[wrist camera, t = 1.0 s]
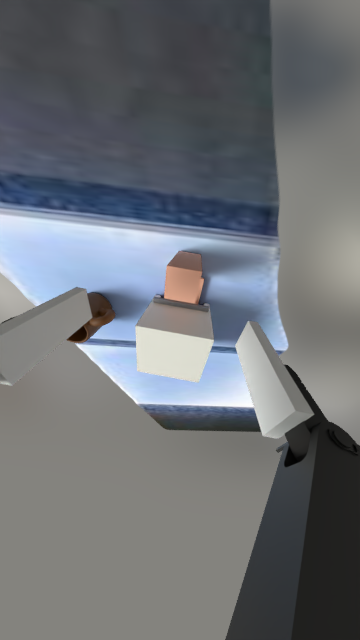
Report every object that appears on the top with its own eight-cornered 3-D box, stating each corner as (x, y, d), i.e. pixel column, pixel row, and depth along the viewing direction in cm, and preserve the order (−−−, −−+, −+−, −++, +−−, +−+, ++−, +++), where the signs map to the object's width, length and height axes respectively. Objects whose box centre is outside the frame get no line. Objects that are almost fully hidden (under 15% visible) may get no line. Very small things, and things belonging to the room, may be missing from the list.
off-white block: (155, 290, 31) (135, 320, 21) (210, 300, 31) (215, 335, 21) (153, 332, 38) (137, 371, 28) (198, 341, 37) (198, 382, 27)
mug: (120, 285, 31) (94, 304, 23) (134, 314, 35) (115, 339, 27) (76, 294, 34) (39, 314, 26) (93, 320, 38) (66, 345, 30)
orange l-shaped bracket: (171, 249, 26) (153, 263, 16) (209, 256, 26) (215, 274, 16) (163, 329, 36) (149, 368, 26) (190, 334, 36) (187, 375, 26)
